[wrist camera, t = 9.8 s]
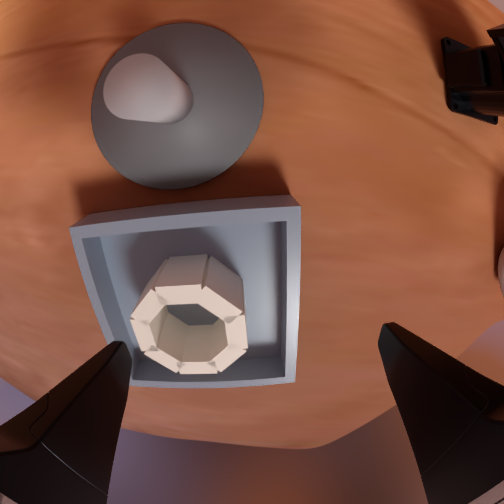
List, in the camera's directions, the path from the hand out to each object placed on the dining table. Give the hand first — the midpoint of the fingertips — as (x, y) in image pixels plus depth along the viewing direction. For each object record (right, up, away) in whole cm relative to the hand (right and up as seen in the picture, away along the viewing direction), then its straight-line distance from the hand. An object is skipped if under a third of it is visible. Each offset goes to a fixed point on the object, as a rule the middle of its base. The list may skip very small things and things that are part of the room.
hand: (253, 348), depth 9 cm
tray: (-4, 0, +12) cm, 12 cm away
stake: (-5, +12, +6) cm, 15 cm away
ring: (-4, 0, +11) cm, 12 cm away
